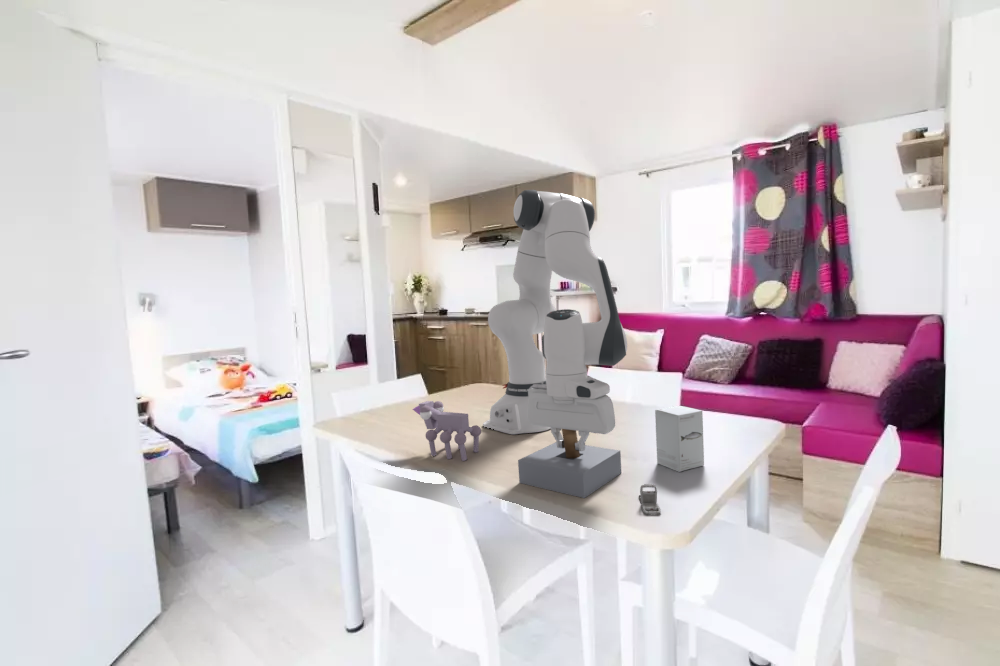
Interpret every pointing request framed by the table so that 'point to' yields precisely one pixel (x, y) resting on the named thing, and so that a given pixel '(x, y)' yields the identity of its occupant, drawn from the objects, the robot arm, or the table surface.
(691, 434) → the supplement box
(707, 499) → the table surface
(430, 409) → the toy sheep
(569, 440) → the walnut peg
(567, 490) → the hole block
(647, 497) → the strap clip
